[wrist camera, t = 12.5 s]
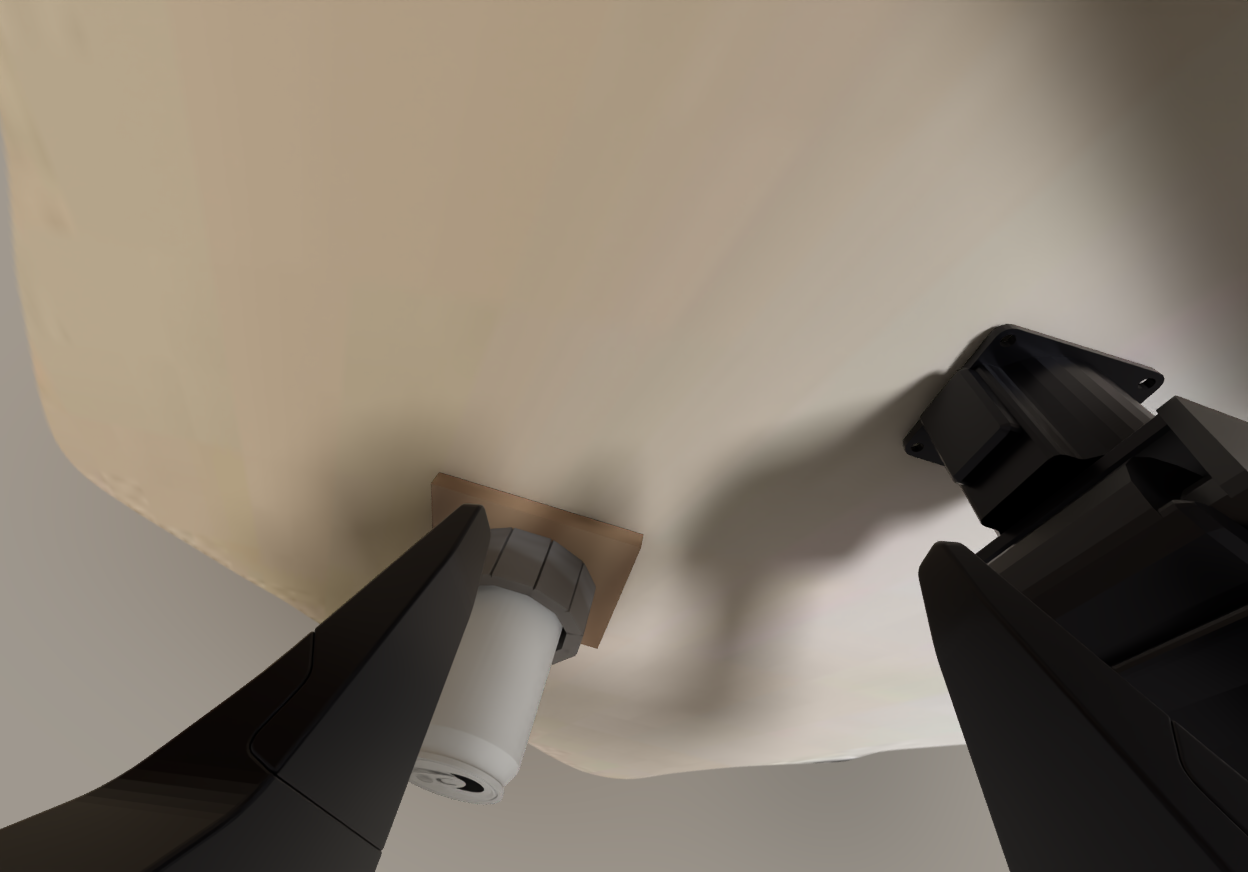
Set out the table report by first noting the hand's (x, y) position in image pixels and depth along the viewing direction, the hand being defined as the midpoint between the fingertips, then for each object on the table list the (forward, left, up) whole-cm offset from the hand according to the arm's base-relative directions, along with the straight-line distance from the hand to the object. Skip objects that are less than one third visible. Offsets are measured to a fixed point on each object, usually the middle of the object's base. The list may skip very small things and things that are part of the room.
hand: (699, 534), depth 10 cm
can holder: (+5, +22, -13) cm, 26 cm away
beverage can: (+5, +22, -12) cm, 25 cm away
